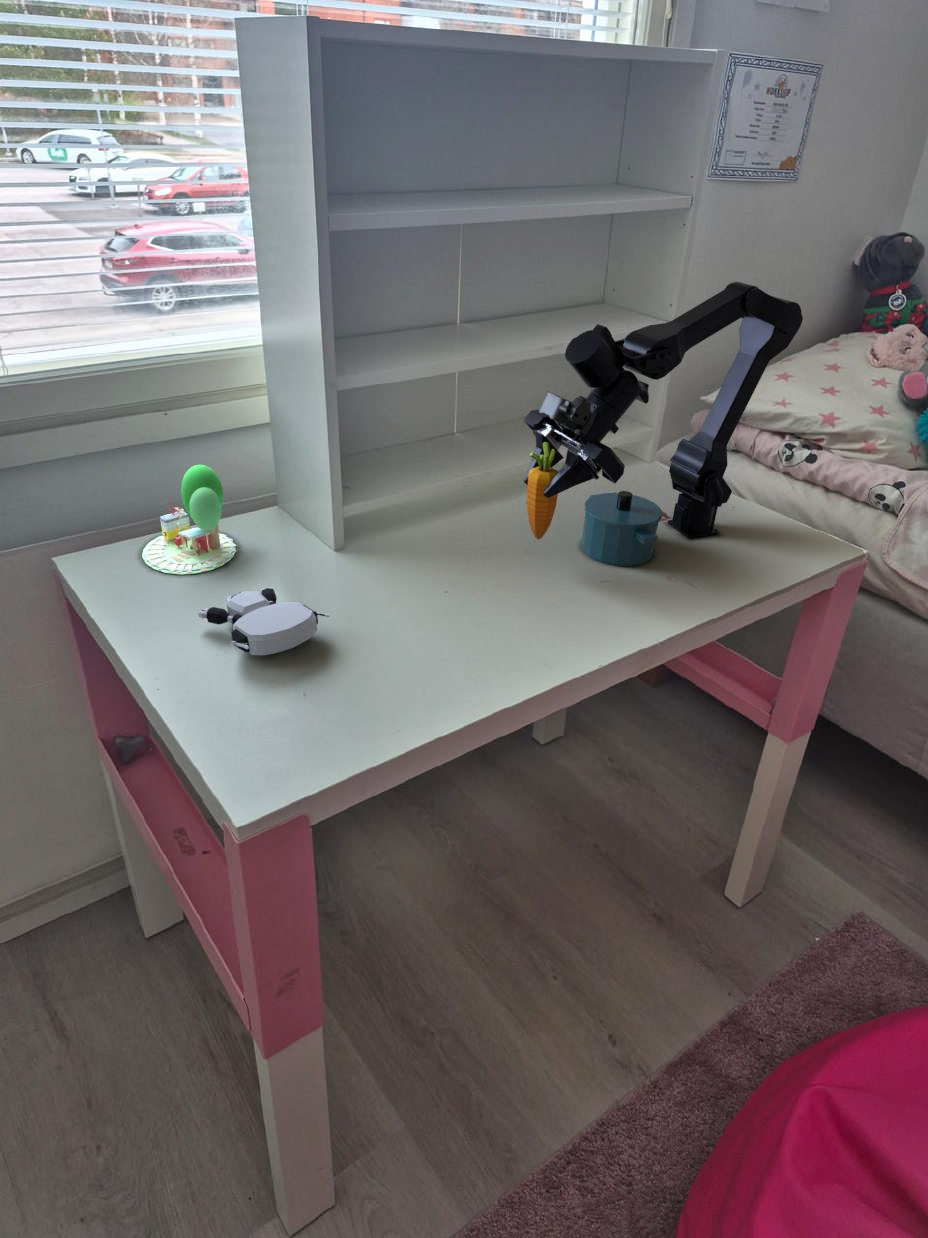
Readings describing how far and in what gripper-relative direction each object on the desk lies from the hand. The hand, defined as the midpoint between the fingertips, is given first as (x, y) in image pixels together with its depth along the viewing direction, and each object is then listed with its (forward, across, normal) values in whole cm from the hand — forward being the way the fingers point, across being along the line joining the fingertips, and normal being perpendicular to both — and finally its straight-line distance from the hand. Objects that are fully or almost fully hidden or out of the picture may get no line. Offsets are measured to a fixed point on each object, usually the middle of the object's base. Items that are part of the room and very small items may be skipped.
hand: (535, 489), depth 127 cm
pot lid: (-8, +1, +17) cm, 18 cm away
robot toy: (+39, 0, -21) cm, 44 cm away
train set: (+41, -27, -22) cm, 54 cm away
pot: (-2, +1, +22) cm, 22 cm away
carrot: (+5, 0, +7) cm, 9 cm away
